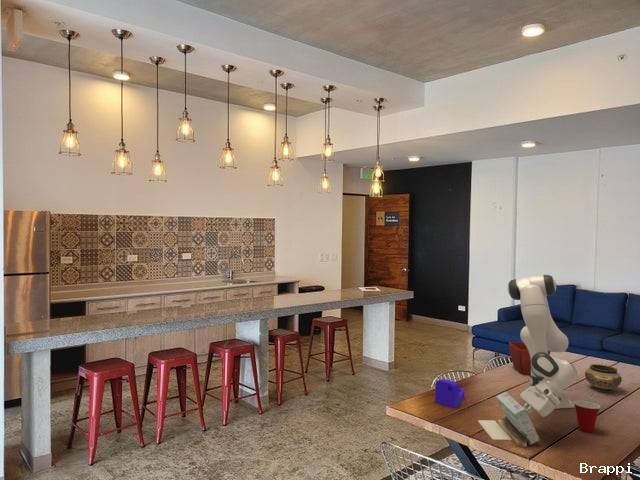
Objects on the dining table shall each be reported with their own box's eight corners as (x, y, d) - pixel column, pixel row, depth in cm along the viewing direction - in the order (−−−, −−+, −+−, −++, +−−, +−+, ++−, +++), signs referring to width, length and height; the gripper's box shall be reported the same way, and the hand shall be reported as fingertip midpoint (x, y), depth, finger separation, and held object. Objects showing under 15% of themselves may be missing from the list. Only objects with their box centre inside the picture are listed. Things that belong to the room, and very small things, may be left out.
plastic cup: (600, 428, 218) (601, 402, 218) (598, 436, 209) (599, 409, 209) (573, 422, 224) (574, 397, 224) (571, 430, 215) (571, 404, 215)
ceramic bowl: (614, 403, 258) (623, 378, 256) (578, 388, 268) (587, 364, 265) (616, 391, 278) (625, 367, 276) (583, 377, 288) (591, 354, 286)
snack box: (509, 425, 220) (495, 396, 220) (520, 419, 220) (506, 390, 220) (529, 446, 199) (514, 414, 199) (541, 440, 199) (526, 408, 199)
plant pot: (550, 377, 293) (551, 350, 293) (519, 376, 293) (520, 349, 293) (536, 368, 312) (537, 342, 312) (507, 367, 312) (508, 341, 312)
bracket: (454, 408, 240) (454, 385, 239) (435, 402, 248) (435, 379, 247) (471, 399, 252) (472, 377, 252) (453, 394, 260) (453, 372, 260)
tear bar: (505, 423, 221) (505, 417, 221) (526, 446, 198) (526, 439, 198) (497, 423, 221) (497, 417, 221) (517, 446, 198) (518, 439, 198)
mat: (494, 421, 224) (494, 420, 224) (511, 440, 204) (511, 439, 204) (477, 421, 224) (477, 420, 224) (492, 440, 204) (492, 439, 204)
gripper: (530, 379, 220) (508, 399, 220) (552, 394, 199) (527, 417, 199) (540, 388, 220) (518, 409, 220) (562, 405, 199) (538, 428, 200)
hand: (522, 413), depth 210 cm, fingers closed, pressing on snack box
